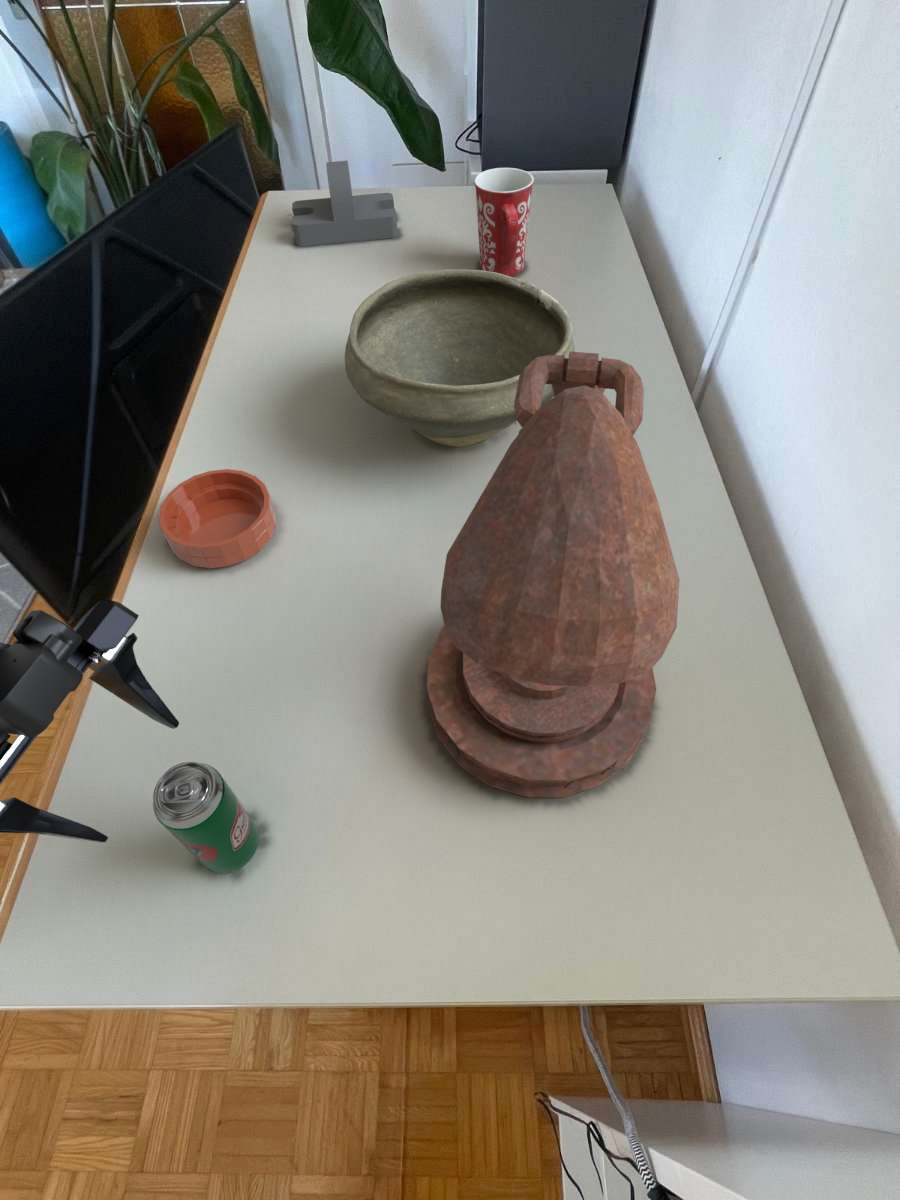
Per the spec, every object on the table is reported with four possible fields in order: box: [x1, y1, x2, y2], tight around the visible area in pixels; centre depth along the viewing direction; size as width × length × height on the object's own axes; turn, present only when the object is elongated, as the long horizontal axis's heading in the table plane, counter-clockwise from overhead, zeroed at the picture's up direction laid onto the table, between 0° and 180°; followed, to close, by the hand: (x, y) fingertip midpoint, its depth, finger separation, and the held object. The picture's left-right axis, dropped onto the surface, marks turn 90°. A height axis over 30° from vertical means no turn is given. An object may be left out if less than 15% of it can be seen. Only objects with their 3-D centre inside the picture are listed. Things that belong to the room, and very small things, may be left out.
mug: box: [473, 167, 535, 277], centre depth 109 cm, size 13×9×14 cm
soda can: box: [152, 761, 260, 874], centre depth 54 cm, size 5×5×12 cm
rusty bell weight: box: [426, 351, 680, 798], centre depth 50 cm, size 21×32×40 cm, turn 170°
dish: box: [157, 468, 277, 569], centre depth 79 cm, size 12×12×4 cm
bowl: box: [344, 268, 576, 448], centre depth 87 cm, size 28×28×14 cm
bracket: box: [291, 160, 399, 247], centre depth 121 cm, size 10×18×11 cm, turn 98°
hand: (142, 780), depth 51 cm, fingers open, 9 cm apart
